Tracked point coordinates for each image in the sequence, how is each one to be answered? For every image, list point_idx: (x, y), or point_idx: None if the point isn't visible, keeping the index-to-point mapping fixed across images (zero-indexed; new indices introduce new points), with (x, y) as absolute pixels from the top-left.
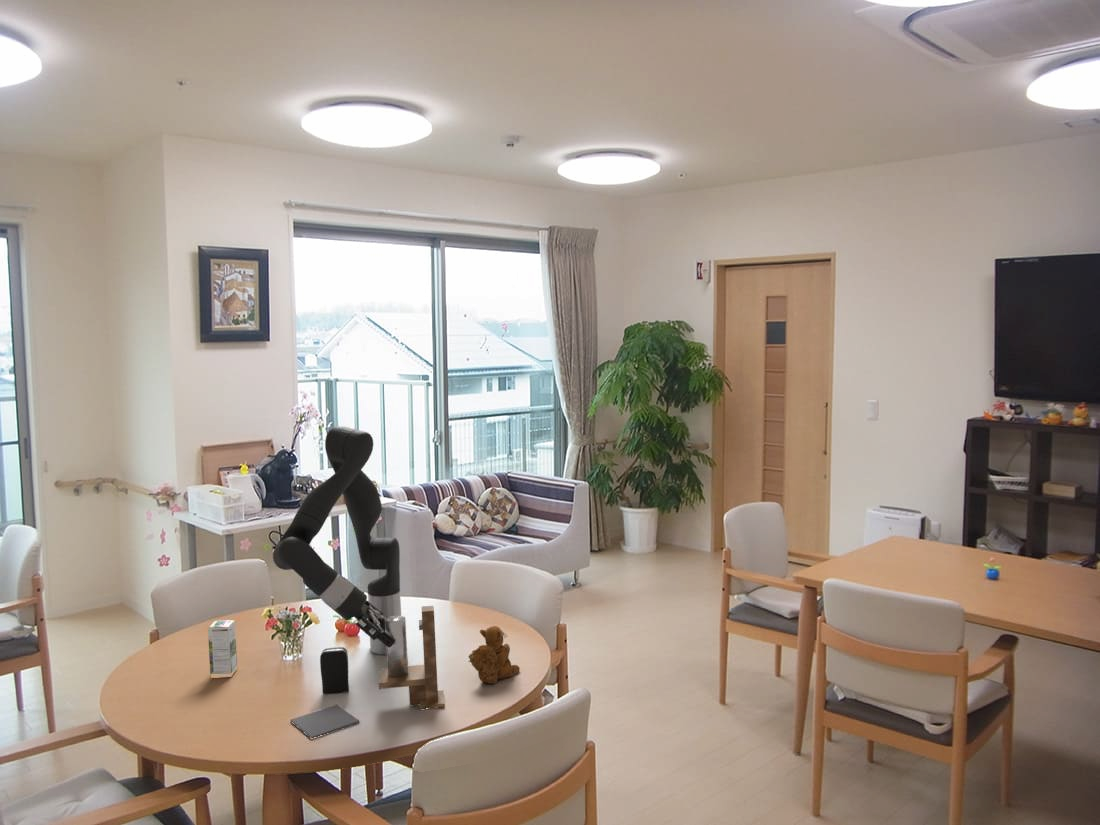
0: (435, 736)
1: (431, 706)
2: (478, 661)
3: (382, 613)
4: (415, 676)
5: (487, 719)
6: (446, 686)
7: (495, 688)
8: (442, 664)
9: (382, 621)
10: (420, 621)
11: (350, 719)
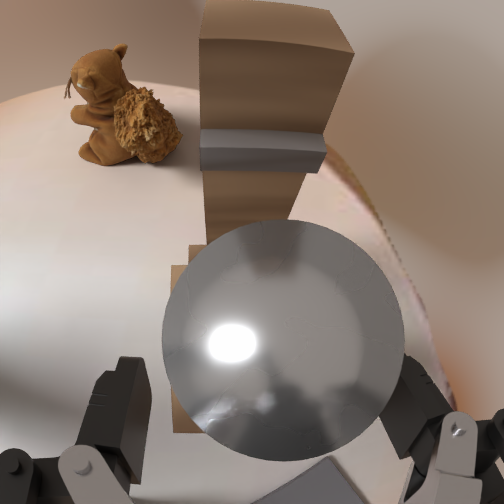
0: (405, 270)
1: None
2: (165, 127)
3: (19, 463)
4: None
5: (339, 171)
6: (144, 240)
7: (192, 143)
8: (21, 247)
9: (120, 470)
10: (237, 138)
11: (317, 479)
